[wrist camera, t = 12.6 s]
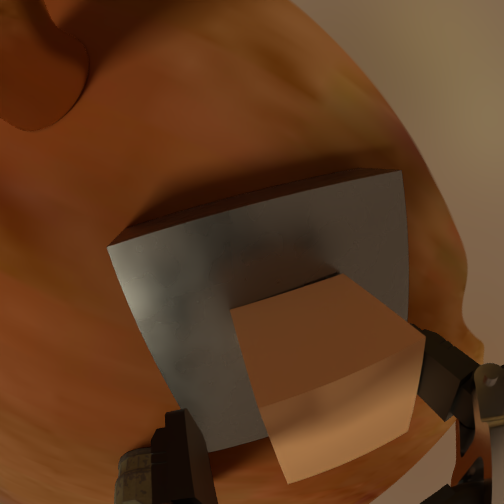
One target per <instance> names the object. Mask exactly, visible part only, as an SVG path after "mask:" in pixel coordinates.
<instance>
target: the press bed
mask: <svg viewBox="0 0 504 504" xmlns="http://www.w3.org/2000/svg"><path fill="white" fill-rule="evenodd" d="M107 249H108V252H109V255H110V258H111V261H112V264H113V266H114V269H115V272H116V274H117V277H118V279H119V282H120V285H121V287H122V290H123V292H124V295H125V297H126V299H127V302H128V304H129V307H130V309H131V311H132V314H133V316H134V318H135V320H136V323H137V325H138V327H139V329H140V331H141V334H142V336H143V338H144V340H145V342H146V344H147V346H148V348H149V350H150V352H151V354H152V356H153V358H154V360H155V362H156V364H157V366H158V368H159V370H160V372H161V374H162V376H163V378H164V379H165V381H166V383H167V385H168V387H169V389H170V390H171V392H172V394H173V396H174V397H175V399H176V401H177V403H178V404H179V406H180V408H181V409H184V408H187V409H188V411H189V412H190V414H191V416H192V417H193V419H194V421H195V422H196V424H197V426H198V427H199V429H200V430H201V432H202V434H203V436H204V439H205V442H206V446H207V451H208V452H213V451H217V450H221V449H226V448H230V447H233V446H237V445H241V444H245V443H248V442H252V441H255V440H258V439H262V438H265V437H268V436H269V435H268V433H267V430H266V428H265V425H264V422H263V420H262V417H261V414H260V412H259V409H258V406H257V403H256V399H255V396H254V393H253V389H252V386H251V383H250V379H249V376H248V373H247V369H246V366H245V363H244V359H243V356H242V352H241V349H240V345H239V342H238V338H237V335H236V331H235V327H234V324H233V320H232V317H231V313H230V310H231V309H234V308H237V307H241V306H244V305H247V304H251V303H254V302H257V301H260V300H264V299H267V298H270V297H273V296H277V295H280V294H283V293H286V292H289V291H292V290H295V289H298V288H301V287H304V286H307V285H310V284H313V283H316V282H319V281H322V280H325V279H328V278H331V277H334V276H337V275H340V274H345V275H346V276H347V277H349V278H350V279H351V280H353V281H354V282H355V283H357V284H358V285H359V286H361V287H362V288H363V289H365V290H366V291H367V292H369V293H370V294H371V295H373V296H374V297H375V298H377V299H378V300H379V301H381V302H382V303H383V304H385V305H386V306H387V307H389V308H390V309H391V310H392V311H394V312H395V313H396V314H398V315H399V316H400V317H401V318H403V319H404V320H405V321H407V318H408V293H409V258H408V232H407V217H406V205H405V195H404V186H403V178H402V170H390V169H372V168H357V169H351V170H346V171H341V172H337V173H332V174H327V175H322V176H317V177H313V178H308V179H304V180H299V181H295V182H291V183H286V184H282V185H278V186H274V187H269V188H265V189H261V190H257V191H253V192H249V193H245V194H241V195H238V196H234V197H230V198H226V199H222V200H219V201H215V202H211V203H208V204H204V205H201V206H197V207H194V208H190V209H187V210H183V211H180V212H176V213H173V214H169V215H166V216H163V217H160V218H156V219H153V220H150V221H147V222H143V223H140V224H137V225H134V226H131V227H128V228H125V229H124V230H123V231H122V232H121V233H120V234H119V235H118V236H117V237H116V238H115V239H114V240H113V241H112V242H111V243H110V244H109V245H108V246H107Z"/></svg>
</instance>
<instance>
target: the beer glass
mask: <svg viewBox="0 0 504 504" xmlns="http://www.w3.org/2000/svg"><path fill="white" fill-rule="evenodd" d="M88 71H89V59H88V54H87V51H86V49H85V47H84V45H83V44H82V43H81V42H80V41H79V40H78V39H77V38H75V37H74V36H72V35H70V34H68V33H66V32H65V31H63V30H61V29H60V28H58V27H57V26H56V25H55V23H54V22H53V20H52V19H51V16H50V14H49V12H48V10H47V7H46V5H45V2H44V0H0V118H1V119H3V120H4V121H6V122H7V123H9V124H10V125H12V126H14V127H15V128H17V129H20V130H24V131H36V130H40V129H43V128H46V127H48V126H50V125H52V124H53V123H55V122H57V121H58V120H59V119H60V118H62V117H63V116H64V115H65V114H66V113H67V112H68V111H69V110H70V109H71V108H72V106H73V105H74V104H75V102H76V101H77V99H78V98H79V96H80V94H81V92H82V90H83V88H84V86H85V83H86V80H87V77H88Z"/></svg>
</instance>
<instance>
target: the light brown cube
mask: <svg viewBox="0 0 504 504" xmlns="http://www.w3.org/2000/svg"><path fill="white" fill-rule="evenodd" d="M230 313H231V317H232V320H233V324H234V327H235V331H236V335H237V338H238V342H239V345H240V349H241V352H242V356H243V359H244V363H245V366H246V369H247V373H248V376H249V379H250V383H251V386H252V389H253V393H254V396H255V399H256V403H257V406H258V409H259V412H260V414H261V417H262V420H263V422H264V425H265V428H266V430H267V433H268V435H269V438H270V441H271V443H272V446H273V448H274V451H275V453H276V456H277V458H278V461H279V463H280V466H281V468H282V471H283V473H284V476H285V478H286V480H287V483H288V484H290V483H293V482H296V481H299V480H302V479H305V478H308V477H311V476H314V475H316V474H319V473H322V472H324V471H327V470H330V469H332V468H335V467H337V466H339V465H342V464H344V463H346V462H349V461H351V460H353V459H355V458H358V457H360V456H362V455H364V454H366V453H368V452H370V451H372V450H374V449H376V448H378V447H380V446H382V445H384V444H386V443H388V442H390V441H391V440H393V439H395V438H397V437H399V436H400V435H402V434H404V433H406V432H407V431H408V428H409V424H410V420H411V416H412V412H413V408H414V404H415V399H416V394H417V390H418V384H419V379H420V374H421V368H422V362H423V355H424V348H425V340H426V336H424V335H423V334H422V333H421V332H419V331H418V330H417V329H415V328H414V327H413V326H412V325H410V324H409V323H408V322H407V321H405V320H404V319H403V318H401V317H400V316H399V315H398V314H396V313H395V312H394V311H392V310H391V309H390V308H389V307H387V306H386V305H385V304H383V303H382V302H381V301H379V300H378V299H377V298H375V297H374V296H373V295H371V294H370V293H369V292H367V291H366V290H365V289H363V288H362V287H361V286H359V285H358V284H357V283H355V282H354V281H353V280H351V279H350V278H349V277H347V276H346V275H345V274H340V275H337V276H334V277H331V278H328V279H325V280H322V281H319V282H316V283H313V284H310V285H307V286H304V287H301V288H298V289H295V290H292V291H289V292H286V293H283V294H280V295H277V296H273V297H270V298H267V299H264V300H260V301H257V302H254V303H251V304H247V305H244V306H241V307H237V308H234V309H231V310H230Z"/></svg>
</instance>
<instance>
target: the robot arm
mask: <svg viewBox="0 0 504 504" xmlns="http://www.w3.org/2000/svg"><path fill="white" fill-rule="evenodd" d="M410 325H412V326H413V327H414V328H415V329H417V330H418V331H419V332H421V333H422V334H423V335H424V336H426V340H425V348H424V355H423V362H422V368H421V374H420V379H419V384H418V390H417V394H418V395H419V396H420V397H421V398H422V399H423V400H424V401H425V402H426V403H427V404H428V405H429V406H430V407H431V408H432V409H433V410H434V411H435V412H436V413H437V414H438V415H439V416H440V417H441V418H442V419H443V420H444V422H445V421H447V420H448V419H449V418H451V417H452V416H453V415H454V416H455V417H456V418H457V419H456V465H455V468H454V471H453V475H452V479H451V487H450V486H449V485H448V484H446V485H445V486H444V487H442V488H441V489H440V490H438V491H437V492H435V493H434V494H433V495H431V496H430V497H428V498H427V499H425V500H424V501H423V502H421V503H420V504H504V365H502V366H499V365H497V364H494V363H487V364H483V365H479V364H478V363H477V362H475V361H474V360H473V359H471V358H470V357H469V356H467V355H466V354H465V353H463V352H462V351H460V350H459V349H458V348H456V347H455V346H454V347H453V345H452V344H451V343H450V342H448V341H446V340H445V339H444V338H443V337H441V336H440V335H439V334H437V333H435V332H432V331H429V330H426V329H424V330H423V331H422V330H421V329H420V328H418V327H417V326H415V325H414V324H411V323H410ZM151 455H152V456H151V464H152V466H151V485H152V504H218V501H217V497H216V492H215V487H214V482H213V477H212V472H211V467H210V462H209V457H208V451H207V446H206V442H205V439H204V436H203V434H202V432H201V430H200V429H199V427H198V426H197V424H196V422H195V421H194V419H193V417H192V416H191V414H190V412H189V411H188V409H187V408H184V409H180V410H175V411H171V412H166V414H165V427H164V428H159V429H156V431H155V433H154V435H153V437H152V440H151Z"/></svg>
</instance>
